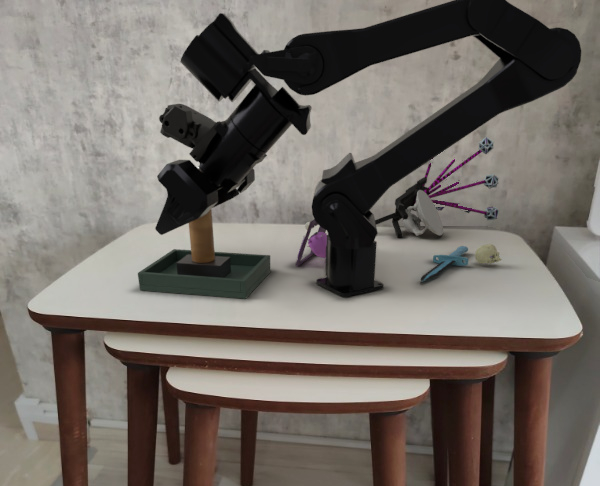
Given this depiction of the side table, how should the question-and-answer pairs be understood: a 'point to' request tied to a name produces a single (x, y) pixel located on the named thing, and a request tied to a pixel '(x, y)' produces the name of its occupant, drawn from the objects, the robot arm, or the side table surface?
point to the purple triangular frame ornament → (313, 243)
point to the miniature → (423, 216)
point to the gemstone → (487, 254)
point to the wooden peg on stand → (203, 252)
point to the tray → (235, 285)
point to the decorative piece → (442, 192)
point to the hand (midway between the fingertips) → (171, 224)
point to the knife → (446, 262)
